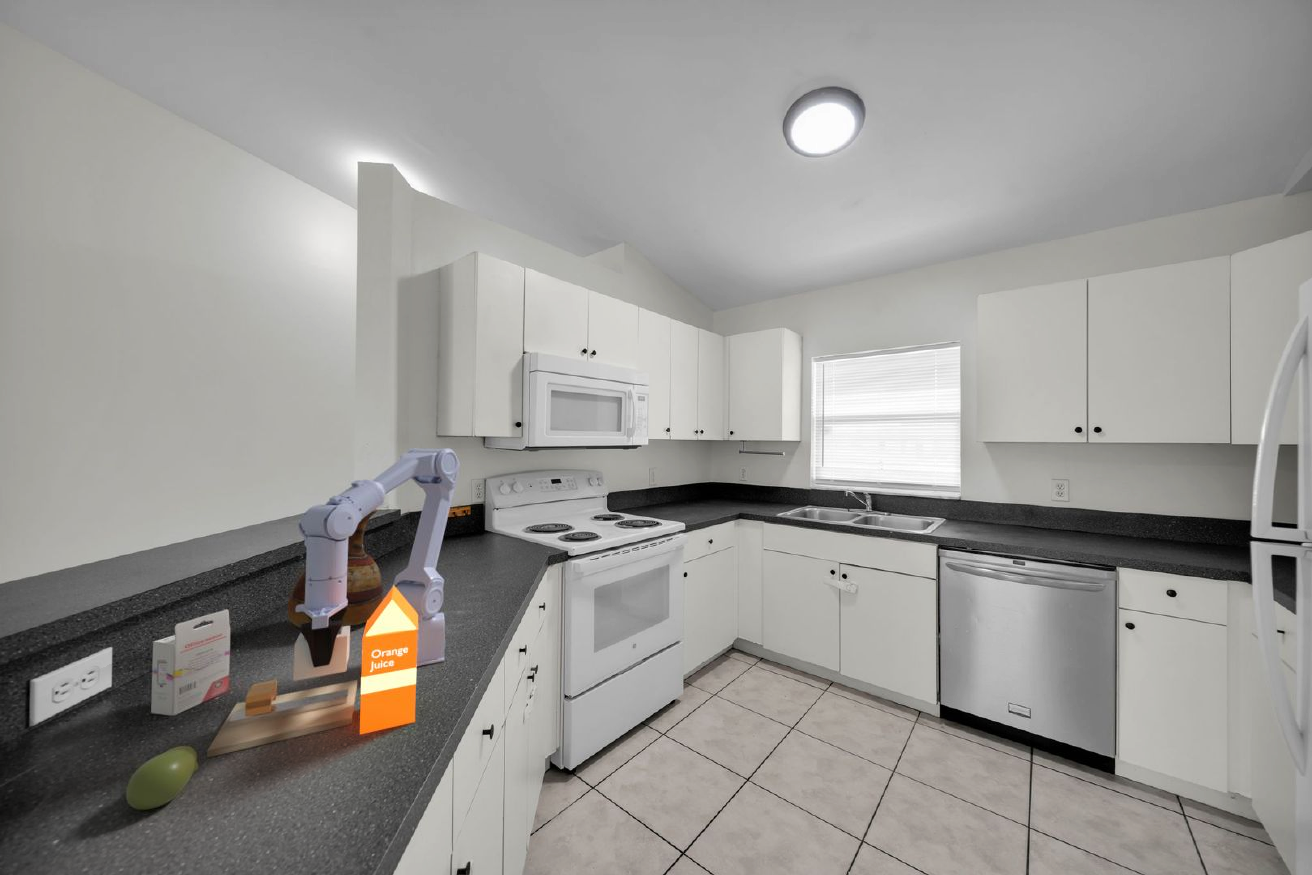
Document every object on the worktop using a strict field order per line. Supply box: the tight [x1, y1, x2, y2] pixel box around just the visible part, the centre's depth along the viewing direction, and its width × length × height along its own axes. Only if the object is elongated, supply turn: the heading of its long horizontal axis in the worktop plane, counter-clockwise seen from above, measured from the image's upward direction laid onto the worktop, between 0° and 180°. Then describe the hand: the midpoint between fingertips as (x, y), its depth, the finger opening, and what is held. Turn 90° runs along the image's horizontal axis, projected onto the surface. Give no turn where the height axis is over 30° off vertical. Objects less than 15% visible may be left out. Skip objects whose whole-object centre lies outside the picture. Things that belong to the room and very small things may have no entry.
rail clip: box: [245, 679, 278, 717], centre depth 74 cm, size 3×4×3 cm, turn 29°
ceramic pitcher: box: [287, 508, 384, 628], centre depth 117 cm, size 20×20×30 cm
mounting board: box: [206, 679, 358, 758], centre depth 76 cm, size 17×14×1 cm
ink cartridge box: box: [150, 609, 231, 717], centre depth 80 cm, size 9×5×15 cm, turn 168°
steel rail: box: [229, 689, 349, 728], centre depth 76 cm, size 15×3×1 cm, turn 119°
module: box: [292, 626, 351, 682], centre depth 78 cm, size 7×5×6 cm
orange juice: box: [359, 584, 418, 735], centre depth 77 cm, size 8×9×20 cm
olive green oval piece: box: [125, 745, 199, 811], centre depth 59 cm, size 6×5×10 cm
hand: (324, 658), depth 78 cm, fingers closed on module, 5 cm apart
